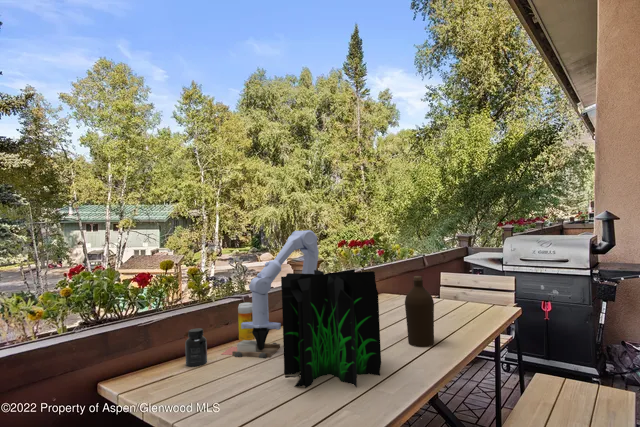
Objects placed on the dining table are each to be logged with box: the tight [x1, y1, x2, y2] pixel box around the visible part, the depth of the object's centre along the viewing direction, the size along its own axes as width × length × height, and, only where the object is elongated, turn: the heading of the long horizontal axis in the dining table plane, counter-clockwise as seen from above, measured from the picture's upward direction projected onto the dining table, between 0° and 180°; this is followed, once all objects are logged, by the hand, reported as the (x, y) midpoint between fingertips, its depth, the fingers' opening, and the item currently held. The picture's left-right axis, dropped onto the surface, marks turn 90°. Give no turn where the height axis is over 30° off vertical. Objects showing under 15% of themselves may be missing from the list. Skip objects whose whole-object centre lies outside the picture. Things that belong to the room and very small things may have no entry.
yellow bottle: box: [237, 302, 255, 342], centre depth 152 cm, size 6×6×15 cm
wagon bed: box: [231, 342, 281, 359], centre depth 134 cm, size 14×12×3 cm
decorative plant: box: [280, 268, 382, 389], centre depth 117 cm, size 29×30×30 cm
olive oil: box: [404, 275, 435, 348], centre depth 141 cm, size 11×11×25 cm
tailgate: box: [220, 346, 237, 356], centre depth 136 cm, size 1×8×6 cm
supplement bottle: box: [184, 327, 208, 368], centre depth 125 cm, size 7×7×12 cm
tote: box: [236, 339, 260, 352], centre depth 135 cm, size 7×5×3 cm
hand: (261, 349), depth 134 cm, fingers closed
